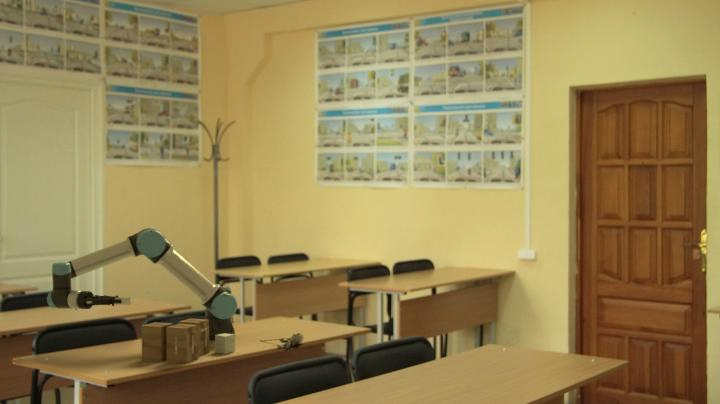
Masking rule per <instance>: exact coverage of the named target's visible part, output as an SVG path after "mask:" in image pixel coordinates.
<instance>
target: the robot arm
mask: <svg viewBox="0 0 720 404" xmlns="http://www.w3.org/2000/svg"><path fill="white" fill-rule="evenodd" d="M140 256H145V257H146V258H147V259H148V260H149V261H150V262H151V263H153V264H155V265H161V266H162V267H163V268H164V269H165V270H167V272H168V273H170V274H171V275H172V276H174V277H175V279H177V280H178V281H180V283H182V284H183V285H184V287H186V288H187V289H189V290H190V291H191V293H194V295H195V296H197V297H198V298H199V299H200V302H201V303H200V304H201V305H202V306H203V307H204V308H205V319H207V320H209V340H215V335H219V334H224V333H226V334H234V335H235V336H236V332H235V327H234V323H232V321H231V317H232V316H233V317H234V315H235V313H236V312H237V309H238V302H237V299H236V297H235V296H234V295H233V294H232V289H231V287H230V286H222V285H221V284H220V283H213V282H212V281H211V280H209V278H208V277H206V276H205V275H204V274H203V273H202V272H201V271H199V270H198V269H197V268H195V267H194V266H193V265H192V264H191V263H190V262H189V261H188V260H186V259H185V258H184V257H183V255H181V254H179V253H178V252H177V251H176V250H175V249H174V244H173V243H172V242H171V241H170V240H169V239H168V238H167V237H165V236H164V235H163V234H162V232H161V231H158V230H157V229H154V228H149V227H148V228H144V229H141V230H140V231H138V232H137V233H134V234H132V235H129V236H127V237H126V238H125V240H123V241H121V242H117V243H114V244H112V245H109V246H107V247H104V248H101V249H98V250H96V251H93V252H90V253H88V254H85V255H83V256H80V257H77V258H74V259H71V260H70V261H60V262H59V261H58V262H57V261H56V262H53V263H52V268H51V274H52V275H51V276H52V290H50V291H49V292H48V294H47V297H46V302H47V304H48V306H49V307H51V308H52V309H53V308H54V309H71V310H72V309H74V311H77V310H78V309H81V310H90V309H91V308H92V307H93V306H110V305H111V306H112V307H115V305H119V306H120V305H121V306H123V305H126V306H129V305H131V297H119V296H118V295H115V296H112V295H105V294H104V295H99V294H96V295H94V294H93V292H92V291H90V290H72V280H73V279H75V278H77V277H80V276H82V275H85V274H87V273H90V272H93V271H96V270H99V269H101V268H103V267H106V266H109V265H111V264H114V263H117V262H120V261H121V260H125V259H127V258H130V257H134V258H136V257H140Z"/></svg>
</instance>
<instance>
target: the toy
mask: <svg viewBox="0 0 720 404" xmlns="http://www.w3.org/2000/svg"><path fill="white" fill-rule="evenodd" d="M269 341H279V342H280V343H282V344H281V345H279V344H278V345H276V347H277V348H278V349H281V350H283V349H289V348H290V347H293V346H295V345H299V344H302V343H303V341H304V335H303V333H302V332H296V333H293V334H292V335H291V336H290V337H286V338H282V337H281V338H274V339H265V340H264V339H263V340H259V342H269Z"/></svg>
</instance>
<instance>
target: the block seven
mask: <svg viewBox="0 0 720 404" xmlns="http://www.w3.org/2000/svg"><path fill="white" fill-rule="evenodd" d="M178 324H190V325H198V358H199V357H201V356H205V355H208V354H209V353H210V339H209V320H207V319H206V318H205V319H202V318H187V319H183V320H180V321H178Z"/></svg>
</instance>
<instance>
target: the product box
mask: <svg viewBox="0 0 720 404" xmlns="http://www.w3.org/2000/svg"><path fill="white" fill-rule="evenodd" d="M214 352H215V353H219V354H223V355H224V354H229V353H233V352H236V334H235V335H234V334H226V333H224V334H219V335H215V339H214Z"/></svg>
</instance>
